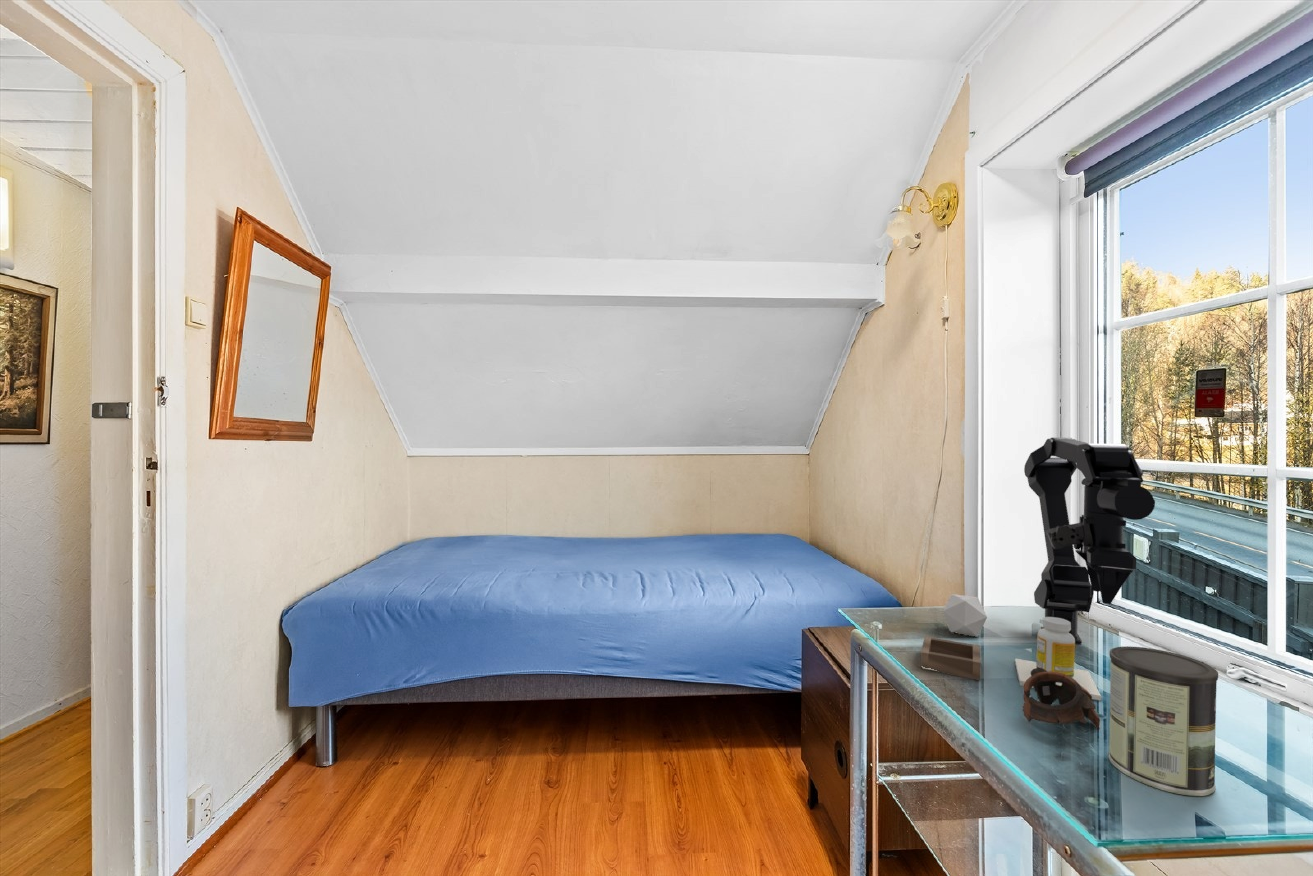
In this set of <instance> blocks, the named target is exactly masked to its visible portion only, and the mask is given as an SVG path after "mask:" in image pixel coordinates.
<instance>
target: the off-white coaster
mask: <svg viewBox="0 0 1313 876" xmlns="http://www.w3.org/2000/svg"><path fill="white" fill-rule="evenodd" d="M1036 662H1037V661H1031V660H1025V659H1020V658H1014V664H1015V668H1016V669H1015V670H1016V673H1017V677H1018V678H1017V679H1018V683H1019V686H1022V687H1023V686H1024V683H1025V682H1026V680H1027V679H1028V678H1030V677H1031V671H1032V670H1033V669H1035V668H1036ZM1073 679H1074V680H1076V681H1077V683H1078V684H1079V685H1081V686H1082V687H1083V688H1084V689H1086V690H1087V691H1088V692H1089V693H1090V694H1091V696H1092V699H1091V700H1095V701H1099V702H1100V701H1102V695H1101V693H1100V691H1099V690H1098V687H1097V685H1096V683H1095V682H1094V680H1093V677H1092V676H1091V673H1090V671H1088V670H1083V669H1078V668H1074V678H1073ZM1056 685H1060V686H1061V685H1062V683H1058V682H1056ZM1031 689H1034V687H1033V686H1032V688H1031Z"/></svg>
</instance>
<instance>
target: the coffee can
mask: <svg viewBox="0 0 1313 876" xmlns="http://www.w3.org/2000/svg"><path fill="white" fill-rule="evenodd" d="M1109 659H1110V678H1109V679H1110V680H1109V681H1110V686H1109V689H1110V690H1109V691H1110V692H1109V694H1110V695H1109V696H1110V697H1109V739H1108V740H1109V741H1108V742H1109V744H1108V745H1109V747H1108V748H1109V749H1108V751H1109V752H1108V761H1109V762H1110V763H1111V764H1112V766H1113V767H1115V768H1116V769H1117V770H1119V771H1120V772H1121V773H1122V774H1124V775H1126V776H1128V777H1130V778H1131V779H1133V780H1135V781H1136V782H1140V783H1141V784H1144V785H1147V786H1149V787H1152V788H1155V789H1157V790H1160V791H1164V792H1167V793H1172V794H1178V795H1183V796H1189V797H1190V796H1191V797H1205V796H1209V795H1212V794H1213V793H1215V791H1216V782H1215V780H1216V777H1215V775H1216V770H1215V769H1216V721H1217V719H1216V718H1217V717H1216V716H1217V715H1216V714H1217V684H1218V683H1217V681H1218V679H1219V672H1218V671H1217V669H1215V668H1214V667H1213V666H1211V665H1210V664H1207V663H1205V662H1203V661H1200V660H1198V659H1195V658H1192V657H1189V656H1186V655H1184V654H1180V653H1175V652H1171V651H1165V650H1161V649H1156V648H1152V647H1150V648H1148V647H1143V646H1142V647H1140V646H1116V647H1113V648H1111V649H1110V650H1109Z"/></svg>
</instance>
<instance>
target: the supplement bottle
mask: <svg viewBox="0 0 1313 876" xmlns="http://www.w3.org/2000/svg"><path fill="white" fill-rule="evenodd" d="M1042 627H1044V628H1043V629H1041V628H1040V629H1039V630H1038V631H1037V638H1036V639H1037V640H1036V661H1035V662H1036V668H1037V667H1039V668H1043V669H1044V670H1046V671H1054V672H1059V673H1063V674H1065V675H1068V676H1070V677H1072V678H1074V669H1075V658H1076V657H1075V655H1076V651H1075V650H1076V643H1075V638H1074V637H1073V635H1072V634H1070V633H1069V631H1070V630H1071V622H1069V621H1068V620H1065V619H1061V618H1056V617H1045V616H1044V617H1042Z"/></svg>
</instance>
